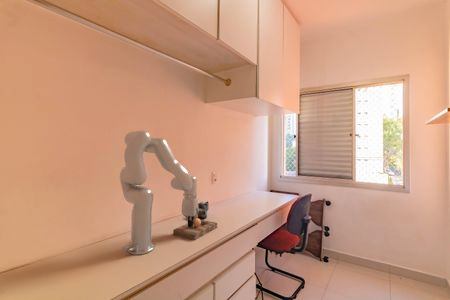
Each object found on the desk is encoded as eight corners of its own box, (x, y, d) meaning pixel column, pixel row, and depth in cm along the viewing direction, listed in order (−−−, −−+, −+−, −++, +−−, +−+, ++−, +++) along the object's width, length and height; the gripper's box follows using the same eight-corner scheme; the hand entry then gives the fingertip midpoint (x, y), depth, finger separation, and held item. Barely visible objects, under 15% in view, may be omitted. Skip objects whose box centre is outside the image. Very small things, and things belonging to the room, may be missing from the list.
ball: (198, 219, 136) (203, 219, 140) (192, 216, 139) (198, 217, 143) (195, 227, 135) (201, 228, 139) (190, 224, 138) (195, 225, 142)
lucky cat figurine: (187, 216, 171) (193, 198, 177) (201, 220, 175) (206, 203, 180) (193, 215, 158) (199, 196, 164) (208, 220, 162) (213, 201, 168)
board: (194, 240, 125) (194, 234, 125) (173, 234, 133) (173, 229, 133) (217, 227, 146) (217, 222, 146) (197, 223, 154) (197, 219, 154)
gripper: (176, 196, 137) (176, 226, 137) (196, 198, 130) (196, 230, 130) (184, 194, 144) (184, 222, 144) (203, 196, 136) (203, 226, 136)
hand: (190, 226), depth 137 cm, fingers closed
